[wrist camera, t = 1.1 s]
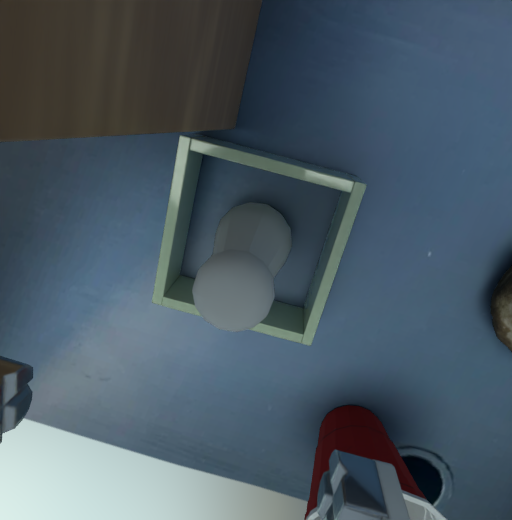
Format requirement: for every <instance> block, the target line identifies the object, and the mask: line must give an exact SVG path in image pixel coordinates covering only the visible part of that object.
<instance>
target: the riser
mask: <svg viewBox="0 0 512 520" xmlns="http://www.w3.org/2000/svg"><path fill="white" fill-rule="evenodd" d="M261 4H262V0H0V142H14V141H32V140H49V139H67V138H85V137H102V136H120V135H138V134H156V133H173V132H191V131H209V130H226V129H235V125H236V121H237V116H238V111H239V107H240V102H241V97H242V93H243V88H244V83H245V79H246V74H247V69H248V65H249V60H250V55H251V51H252V46H253V41H254V37H255V32H256V27H257V23H258V18H259V13H260V9H261Z"/></svg>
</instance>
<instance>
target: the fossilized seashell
mask: <svg viewBox="0 0 512 520" xmlns="http://www.w3.org/2000/svg"><path fill="white" fill-rule="evenodd" d="M491 315H492V317H493V319H492V323H493V327H494V330H495V333H496V336H497V338H498V339H499V340H500V341H501V342H502V343H504V344H505V345H506V346H507V347H508V348H509V349H510V350H511V352H512V266H511V267H510V268H509V269H508V270H507V271H506V272H505V274H504V275H503V276H502V278H501V280H500V281H499V282H498V284H497V286H496V288H495V289H494V292H493V295H492V299H491Z"/></svg>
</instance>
